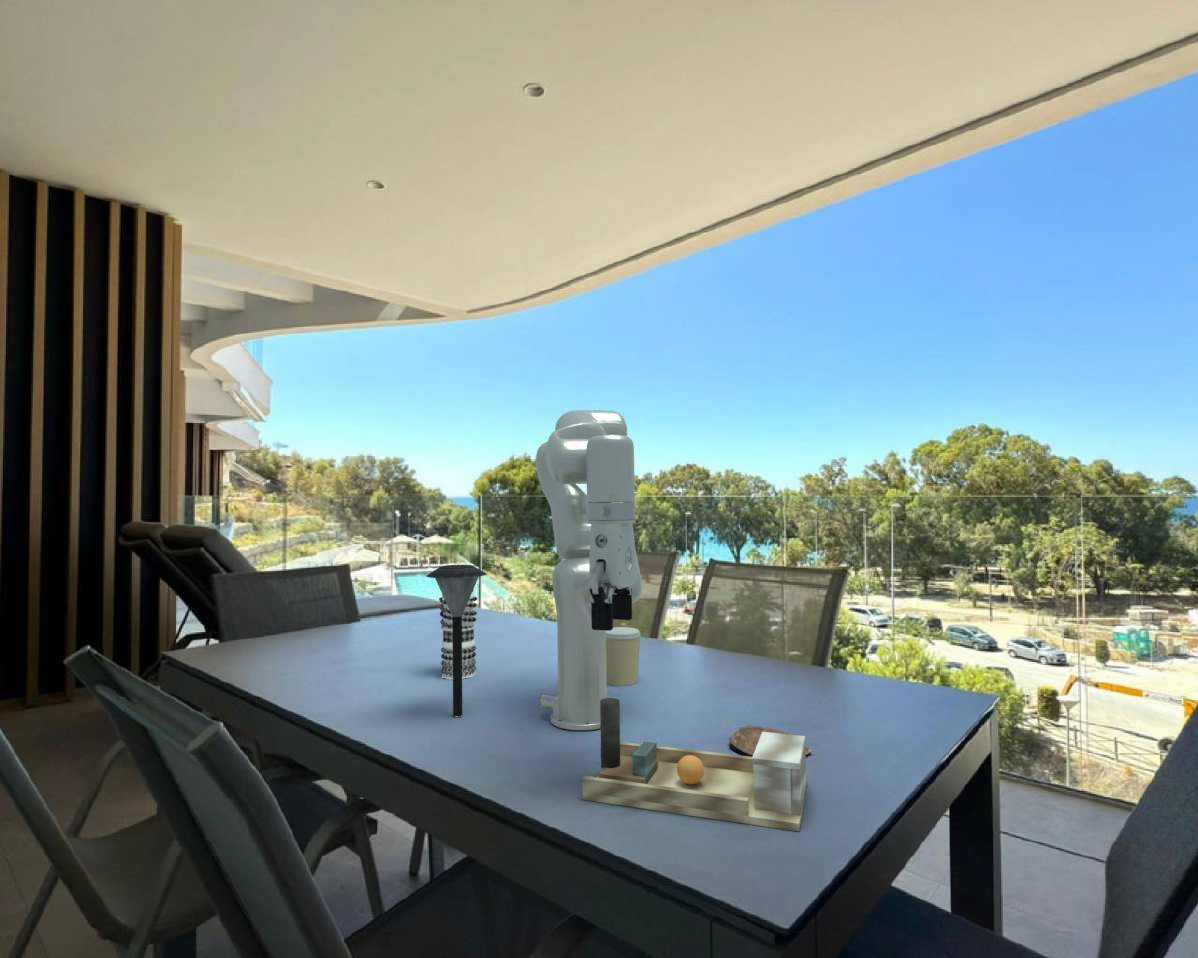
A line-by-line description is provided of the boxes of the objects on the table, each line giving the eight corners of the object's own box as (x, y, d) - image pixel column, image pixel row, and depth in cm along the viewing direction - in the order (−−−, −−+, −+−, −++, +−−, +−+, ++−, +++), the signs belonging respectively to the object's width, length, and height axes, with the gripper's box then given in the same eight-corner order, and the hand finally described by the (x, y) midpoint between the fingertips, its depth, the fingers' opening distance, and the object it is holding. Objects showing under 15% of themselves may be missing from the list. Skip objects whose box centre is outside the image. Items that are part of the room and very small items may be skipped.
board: (582, 799, 99) (582, 744, 100) (618, 759, 114) (617, 712, 115) (799, 831, 89) (798, 770, 89) (807, 783, 104) (806, 730, 104)
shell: (759, 769, 111) (758, 746, 111) (716, 743, 123) (715, 723, 123) (816, 757, 115) (816, 736, 115) (770, 734, 127) (769, 714, 127)
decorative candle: (470, 681, 166) (469, 576, 166) (433, 680, 167) (433, 576, 168) (482, 671, 175) (482, 572, 176) (447, 670, 176) (447, 572, 177)
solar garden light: (501, 714, 139) (499, 565, 140) (450, 730, 130) (449, 570, 131) (463, 703, 148) (462, 562, 148) (413, 717, 138) (413, 566, 139)
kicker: (592, 779, 103) (591, 707, 104) (610, 760, 111) (609, 693, 111) (643, 786, 101) (642, 712, 101) (658, 766, 108) (657, 697, 108)
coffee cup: (641, 676, 168) (641, 626, 168) (640, 687, 159) (639, 634, 159) (603, 676, 169) (603, 626, 169) (599, 686, 160) (599, 634, 160)
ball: (674, 786, 101) (673, 759, 101) (680, 776, 105) (680, 749, 105) (701, 790, 100) (700, 762, 100) (706, 779, 103) (706, 752, 103)
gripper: (616, 515, 99) (618, 635, 98) (649, 513, 115) (650, 616, 114) (567, 515, 101) (569, 633, 101) (606, 513, 118) (607, 615, 117)
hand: (612, 624), depth 108 cm, fingers open, 9 cm apart
